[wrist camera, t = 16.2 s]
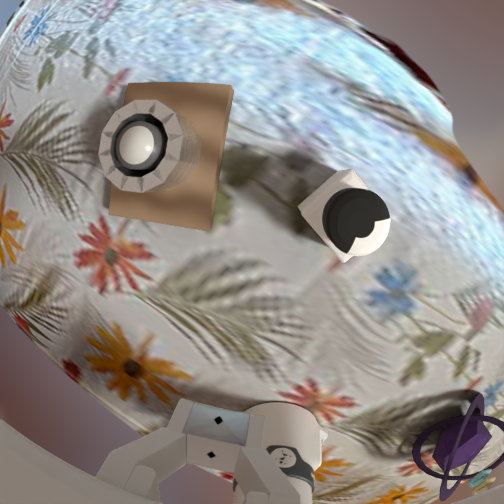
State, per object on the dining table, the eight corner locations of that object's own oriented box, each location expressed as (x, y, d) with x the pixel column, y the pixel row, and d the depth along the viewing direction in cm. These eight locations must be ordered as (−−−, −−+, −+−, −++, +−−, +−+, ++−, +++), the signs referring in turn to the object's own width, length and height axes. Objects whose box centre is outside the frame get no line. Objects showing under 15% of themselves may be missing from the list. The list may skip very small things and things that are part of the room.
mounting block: (211, 227, 37) (207, 231, 35) (117, 212, 38) (108, 214, 36) (234, 90, 33) (230, 84, 30) (136, 88, 34) (128, 83, 31)
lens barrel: (194, 193, 34) (173, 197, 27) (124, 185, 34) (94, 187, 28) (206, 115, 32) (189, 100, 25) (136, 112, 32) (107, 100, 25)
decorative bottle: (493, 419, 42) (534, 484, 18) (424, 467, 47) (449, 541, 22) (483, 372, 39) (545, 452, 15) (397, 433, 44) (429, 533, 19)
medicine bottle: (295, 207, 36) (303, 219, 24) (338, 169, 34) (365, 165, 23) (332, 249, 37) (354, 280, 25) (373, 213, 35) (412, 228, 23)
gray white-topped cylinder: (175, 172, 33) (154, 171, 27) (138, 168, 33) (112, 167, 27) (181, 130, 31) (162, 121, 25) (144, 128, 32) (119, 121, 26)
